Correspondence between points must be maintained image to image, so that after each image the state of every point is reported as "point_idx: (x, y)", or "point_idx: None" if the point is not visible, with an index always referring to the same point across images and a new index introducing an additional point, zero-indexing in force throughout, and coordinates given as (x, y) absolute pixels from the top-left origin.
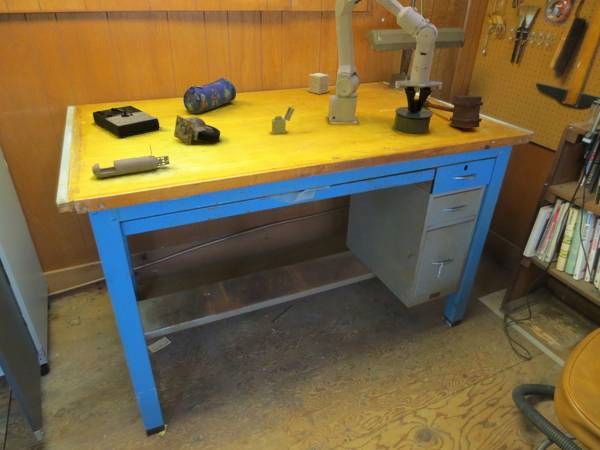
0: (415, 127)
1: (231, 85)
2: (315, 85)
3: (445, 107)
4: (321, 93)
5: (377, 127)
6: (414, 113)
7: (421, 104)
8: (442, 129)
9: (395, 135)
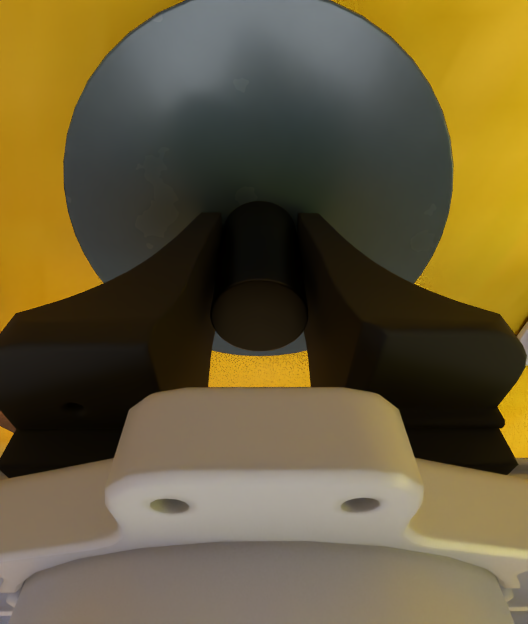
0: None
1: None
2: None
3: (1, 417)
4: None
5: (467, 223)
6: (275, 176)
7: (197, 241)
8: (21, 196)
9: (440, 23)
